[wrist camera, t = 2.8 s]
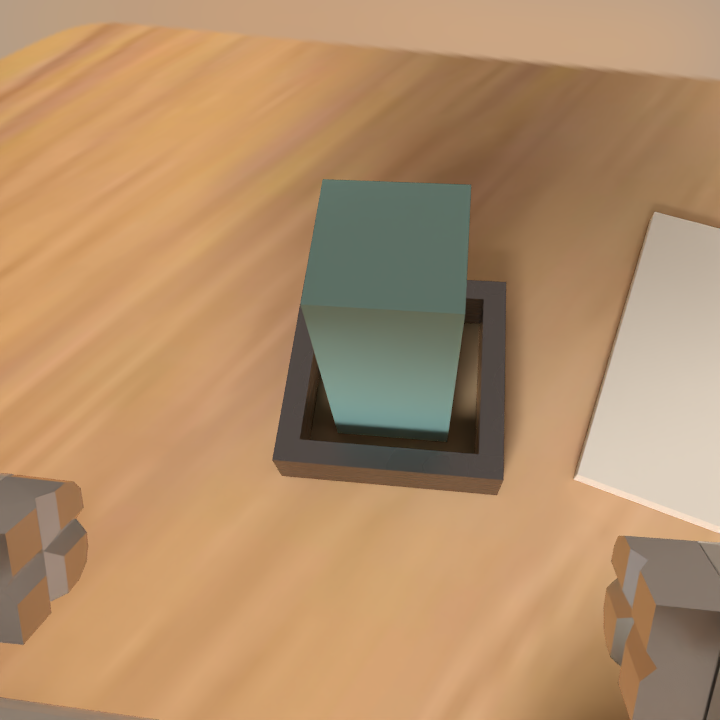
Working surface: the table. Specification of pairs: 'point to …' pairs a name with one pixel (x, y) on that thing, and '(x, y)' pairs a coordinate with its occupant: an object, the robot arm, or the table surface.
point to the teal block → (388, 303)
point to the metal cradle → (393, 463)
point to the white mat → (664, 381)
